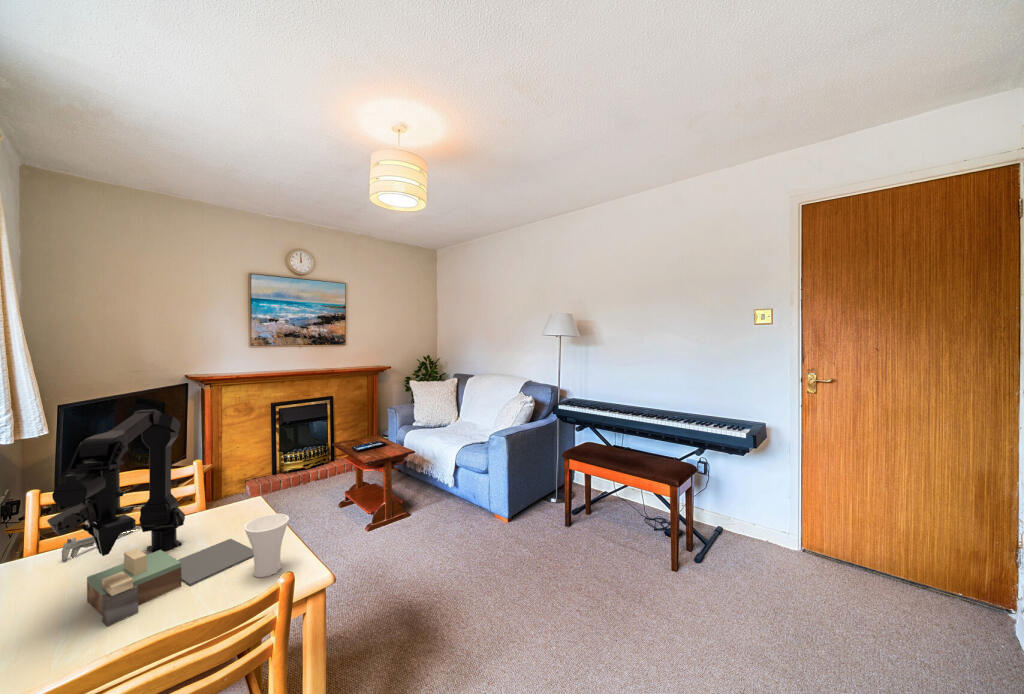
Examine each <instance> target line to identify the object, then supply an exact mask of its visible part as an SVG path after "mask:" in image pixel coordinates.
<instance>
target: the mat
mask: <svg viewBox="0 0 1024 694" xmlns="http://www.w3.org/2000/svg"><path fill="white" fill-rule="evenodd" d="M252 558H254V554H253V550H252V547H249V546H247V545H244V544H243V543H241V542H239V541H237V540H234V539H233V538H229V539H226V540H222V541H221V542H219V543H217V544H214V545H211V546H209V547H206V548H204V549H202V550H201V549H200V550H199V551H196V552H193V553H191V554H189V555H186V556H184V557H181V558H178V559H177V560H178V561H180V562H181V581H182V582H183V583H184V584H186V585H187V586H188V587H191V586H194V585H196V584H198V583H200V582H203V581H204V580H207V579H209V578H211V577H213V576H215V575H218V574H221V573H222V572H224V571H226V570H229V569H231V568H232V567H235V566H237V565H240V564H242V563H243V562H246V561H248V560H250V559H252Z"/></svg>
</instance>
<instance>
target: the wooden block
mask: <svg viewBox="0 0 1024 694" xmlns="http://www.w3.org/2000/svg"><path fill="white" fill-rule="evenodd" d="M102 588H103V589H104V590H105V591H106V592H108V593H109V594H110V595H111V596H114V595H116V594H119V593H121V592H123V591H126V590H128V589H131V588H133V579H132V578H131V577H129V576H128V575H127V574H125V573H124V572H123V571H122V572H119V573H117V574H114V575H111V576H109V577H106V578H104V579H102Z"/></svg>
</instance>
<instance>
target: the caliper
mask: <svg viewBox="0 0 1024 694" xmlns="http://www.w3.org/2000/svg"><path fill="white" fill-rule="evenodd" d="M140 528H141V526H140V525H136V527H135V528H134V529H132V530H136V529H139V530H140ZM141 529H142V528H141ZM128 531H130V532H132V533H134V532H133V531H131V530H128ZM125 532H126V533H127V531H125ZM122 533H123V532H122ZM122 533H120V535H119V537H120V536H121V537H122V536H124V534H125V535H127V534H126V533H123V534H122ZM94 545H95V541H94V539H93V536H92V535H90V536H88V537H84V538H80V539H77V538H76V537H72V538H67V541H66V543H64V544H63V546H62V548H61V549H62V550H61V561H62V562H65V561H67V562H68V559H69V555H70V557H72V558H74V557H75V558H76V557H77V554H78V553H79V551H80V550H81V549H82V548H89V547H93V546H94ZM70 552H71V553H70ZM75 558H74V559H75Z"/></svg>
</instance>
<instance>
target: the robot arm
mask: <svg viewBox="0 0 1024 694" xmlns="http://www.w3.org/2000/svg"><path fill="white" fill-rule="evenodd" d="M180 429H181V422H180V420H178V419H177V418H176V417H175V416H173V415H169V414H166V413H163V412H161V411H159V410H156V409H141V410H140V409H139V410H136V411H133V413H132V415H131V416H129V417H128V418H126V419H125V420H124V421H122V422H120V423H119V424H118V425H116V426H115V427H114V428H112V429H111V430H108V431H106V432H103V433H98V434H94V435H92V436H89V437H86V438H85V439H83V441H81V442H80V443H79V445H78V446H77V448H76V450H75V452H74V454H73V455H72V458H71V461H70V463H69V465H68V467H67V469H66V474H67V475H64V481H63V482H60V483H59V484H58V485H57V486H56V487H55V488H54V490H53V492H52V500H53V502H54V503H55V505H56V504H57V505H58V506H59V507H62V508H68V509H65V510H64V511H62V512H59V513H57V514H56V515H54V516H51V517H50V518H48V519H47V524H48V525H49V526H50V527H51V529H52V530H53V532H54V533H55V534H57V536H62V535H66V534H67V533H69V532H70V531H72V530H73V529H75V528H77V527H79V526H80V525H81V526H80V529H81V530H83V531H85V532H87V534H89V535H90V536H93V539H94V541H95V543H94V545H95V546H96V548H97V552H98V553H99V554H100V555H101V556H102V557H105V556H107V555H109V554H110V553H111V551H112V548H113V547H114V545H115V544H116V541H117V540H118V539H119V537H120V536H119V535H120V533H122V532H125V531H128V530H132V529H134V528H135V527H136V526H137V525H136V524H137V523H136V522H137V521H136V519H135V518H133V517H131V516H130V515H128V514H124V508H123V507H121V497H124V491H122V490H121V488H120V487H121V485H120V482H121V481H120V478H121V477H120V466H122V465H124V463H125V461H123V460H122V458H123V456H124V455H125V454H126V453H127V452H128V451H129V447H128V445H129V444H130V442H132V441H133V440H135V438H137V437H138V436H139V435H141V440H142V443H143V444H144V445H145V446H146V447H147V448H148V449H149V466H148V467H149V474H148V475H149V477H148V478H149V480H148V481H149V482H148V483H149V484H148V485H149V487H148V488H149V489H148V490H149V493H148V495H149V498H148V499H147V500H146V502H145V504H144V505H143V506H141V508H140V510H139V511H140V516H139V526H140V527H141V532H142V533H146V532H150V533H151V534H150V536H151V542H150V543H151V545H149V546H146V550H148V551H149V552H151V553H153V552H156V551H159V550H162V551H164V552H165V551H168V550H171V549H173V548H177V547H179V546H182V545H183V543H182V542H181V541H180V540H178V539H177V535H178V534H177V529H178V528H179V527H181V526H184V523H185V520H186V518H185V517H186V514H185V513H184V512H183V511H182V510H181V508H179V501H178V499H177V498H176V497H175V496H174V495H173V494H172V445H173V443H175V441H176V440H177V438H178V437H179V431H180ZM82 524H84V525H82Z"/></svg>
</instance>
